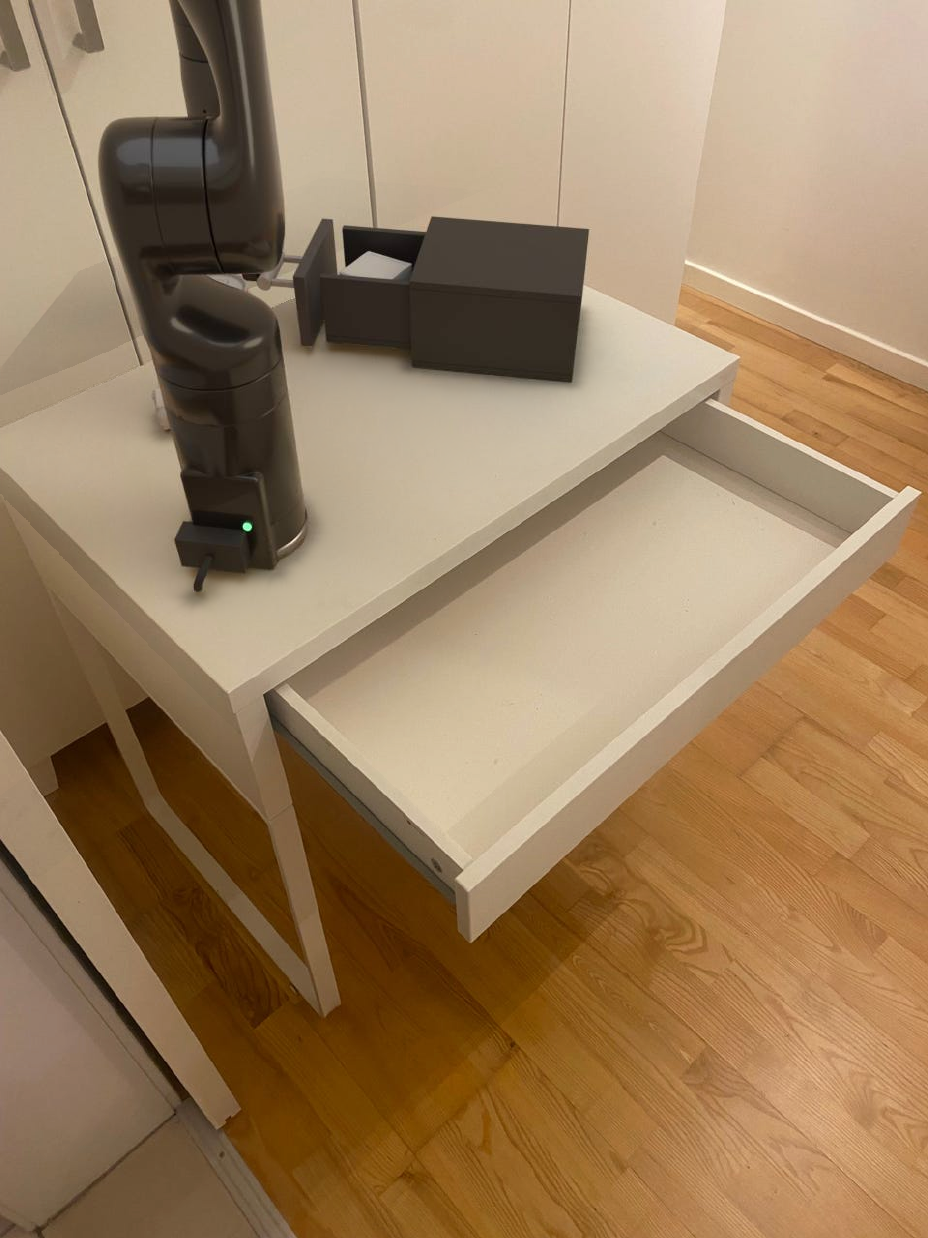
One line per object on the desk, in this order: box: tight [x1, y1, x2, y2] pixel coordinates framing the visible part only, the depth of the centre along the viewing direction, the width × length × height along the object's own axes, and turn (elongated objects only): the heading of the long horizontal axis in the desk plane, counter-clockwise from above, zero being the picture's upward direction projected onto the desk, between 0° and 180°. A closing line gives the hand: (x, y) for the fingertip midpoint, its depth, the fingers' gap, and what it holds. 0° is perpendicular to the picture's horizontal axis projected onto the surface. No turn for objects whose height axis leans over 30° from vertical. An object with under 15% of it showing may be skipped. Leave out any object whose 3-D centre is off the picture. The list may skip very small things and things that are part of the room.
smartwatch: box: [151, 387, 171, 431], centre depth 90 cm, size 4×2×4 cm, turn 16°
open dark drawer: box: [256, 218, 426, 351], centre depth 100 cm, size 20×12×8 cm, turn 82°
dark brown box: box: [409, 215, 590, 383], centre depth 99 cm, size 17×14×10 cm
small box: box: [338, 251, 412, 281], centre depth 101 cm, size 6×6×5 cm
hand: (254, 277), depth 101 cm, fingers closed
